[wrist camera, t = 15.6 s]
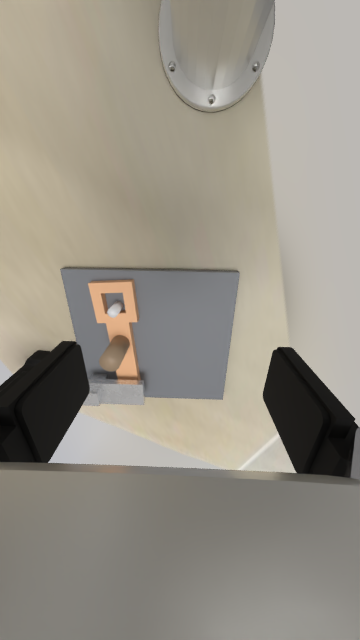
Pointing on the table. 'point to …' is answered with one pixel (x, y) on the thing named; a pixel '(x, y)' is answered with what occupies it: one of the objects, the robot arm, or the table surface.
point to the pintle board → (162, 326)
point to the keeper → (114, 391)
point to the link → (118, 327)
